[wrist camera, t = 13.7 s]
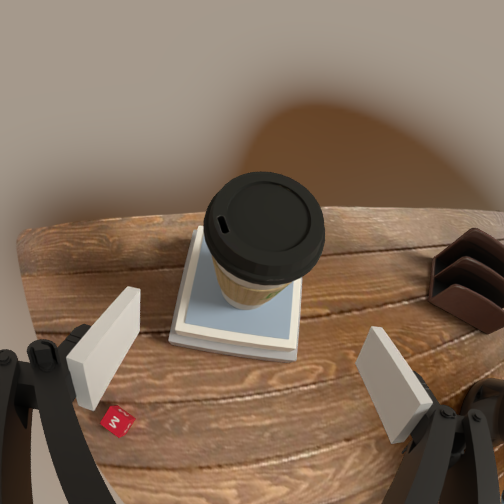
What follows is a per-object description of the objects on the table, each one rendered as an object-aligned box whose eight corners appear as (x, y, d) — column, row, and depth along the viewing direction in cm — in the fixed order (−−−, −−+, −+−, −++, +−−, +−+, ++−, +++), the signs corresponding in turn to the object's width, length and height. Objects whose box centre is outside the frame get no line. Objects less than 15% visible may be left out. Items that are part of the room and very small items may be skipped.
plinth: (297, 258, 44) (310, 238, 39) (290, 363, 37) (304, 357, 31) (194, 240, 43) (193, 217, 38) (171, 344, 36) (164, 336, 30)
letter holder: (431, 258, 49) (477, 220, 37) (489, 294, 48) (532, 268, 35) (426, 302, 44) (480, 269, 32) (487, 335, 43) (536, 313, 30)
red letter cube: (125, 434, 29) (118, 438, 26) (107, 421, 29) (99, 423, 27) (135, 418, 30) (129, 420, 28) (117, 405, 31) (110, 406, 28)
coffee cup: (298, 310, 34) (353, 254, 21) (219, 336, 31) (226, 293, 18) (269, 240, 38) (300, 158, 25) (195, 259, 35) (189, 177, 22)
